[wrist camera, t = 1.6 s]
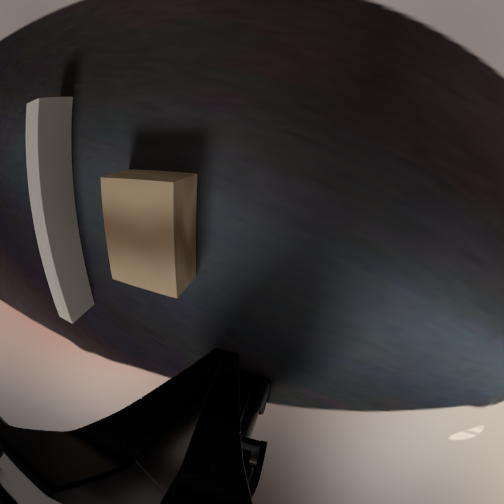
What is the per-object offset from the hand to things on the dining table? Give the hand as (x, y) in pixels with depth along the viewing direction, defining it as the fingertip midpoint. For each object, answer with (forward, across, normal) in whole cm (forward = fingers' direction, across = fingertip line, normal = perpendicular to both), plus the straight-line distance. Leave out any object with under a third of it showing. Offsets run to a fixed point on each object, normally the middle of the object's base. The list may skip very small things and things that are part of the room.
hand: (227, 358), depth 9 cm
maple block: (+11, +9, 0) cm, 14 cm away
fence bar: (+10, +20, 0) cm, 23 cm away
